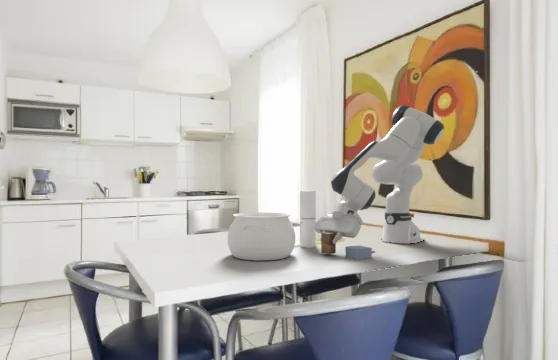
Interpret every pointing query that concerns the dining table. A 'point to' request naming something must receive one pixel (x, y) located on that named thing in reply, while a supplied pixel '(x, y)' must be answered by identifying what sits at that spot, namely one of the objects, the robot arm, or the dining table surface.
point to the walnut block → (327, 243)
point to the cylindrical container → (307, 218)
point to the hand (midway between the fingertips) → (327, 242)
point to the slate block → (358, 252)
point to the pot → (261, 236)
